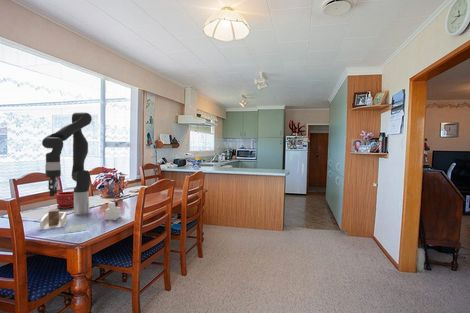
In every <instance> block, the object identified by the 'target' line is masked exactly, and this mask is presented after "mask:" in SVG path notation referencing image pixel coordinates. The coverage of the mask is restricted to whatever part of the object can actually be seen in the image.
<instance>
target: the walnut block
mask: <svg viewBox="0 0 470 313" xmlns="http://www.w3.org/2000/svg"><path fill="white" fill-rule="evenodd" d="M59 213H60V208H56V209H49V210H48V214H49V226H54V225H58V224H59Z"/></svg>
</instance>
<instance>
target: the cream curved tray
mask: <svg viewBox="0 0 470 313" xmlns="http://www.w3.org/2000/svg"><path fill="white" fill-rule="evenodd" d="M67 212H68V211H62V212H60V211H59V224H58V225H54V226H49V213H44V215H43V217H42V218H41V220H40V221H39V230H47V229H49V230H50V229H54V228H55V229H56V228H65V225H66V223H67V221H68V217H67V216H68V214H67Z"/></svg>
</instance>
